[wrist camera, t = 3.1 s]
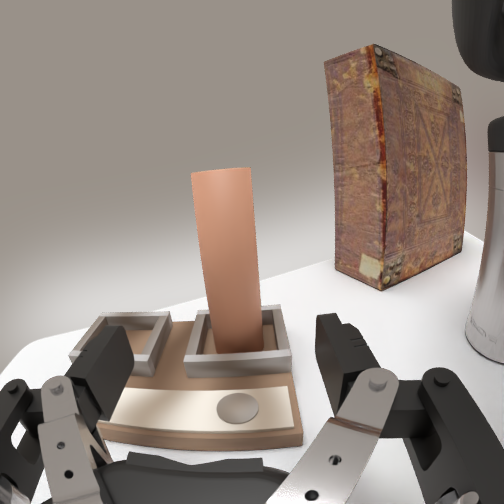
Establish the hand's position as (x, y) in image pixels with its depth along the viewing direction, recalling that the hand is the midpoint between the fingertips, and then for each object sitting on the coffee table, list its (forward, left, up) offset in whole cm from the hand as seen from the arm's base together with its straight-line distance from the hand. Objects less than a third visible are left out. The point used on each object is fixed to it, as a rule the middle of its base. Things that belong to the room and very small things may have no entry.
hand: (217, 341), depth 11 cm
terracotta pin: (0, -10, -8) cm, 13 cm away
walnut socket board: (+5, -8, -9) cm, 13 cm away
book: (-27, -29, -10) cm, 40 cm away
